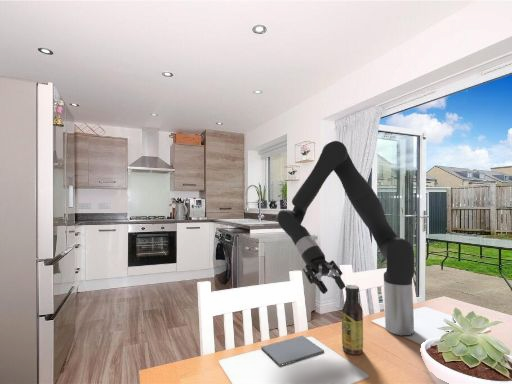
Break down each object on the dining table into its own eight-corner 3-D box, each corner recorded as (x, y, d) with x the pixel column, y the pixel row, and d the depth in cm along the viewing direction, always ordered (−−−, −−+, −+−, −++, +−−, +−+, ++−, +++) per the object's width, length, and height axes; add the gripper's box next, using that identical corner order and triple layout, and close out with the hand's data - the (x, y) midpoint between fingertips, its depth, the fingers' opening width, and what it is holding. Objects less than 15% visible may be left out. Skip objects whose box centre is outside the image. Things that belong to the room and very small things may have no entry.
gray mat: (302, 337, 95) (302, 335, 95) (324, 352, 85) (323, 350, 85) (261, 348, 87) (261, 346, 87) (279, 366, 78) (279, 364, 78)
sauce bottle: (338, 346, 88) (337, 283, 89) (357, 345, 89) (355, 282, 90) (347, 357, 82) (346, 289, 83) (367, 355, 83) (365, 288, 84)
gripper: (300, 246, 96) (325, 287, 86) (328, 243, 104) (355, 280, 94) (290, 259, 101) (313, 300, 90) (318, 255, 108) (342, 292, 98)
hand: (334, 290), depth 92 cm, fingers open, 8 cm apart
